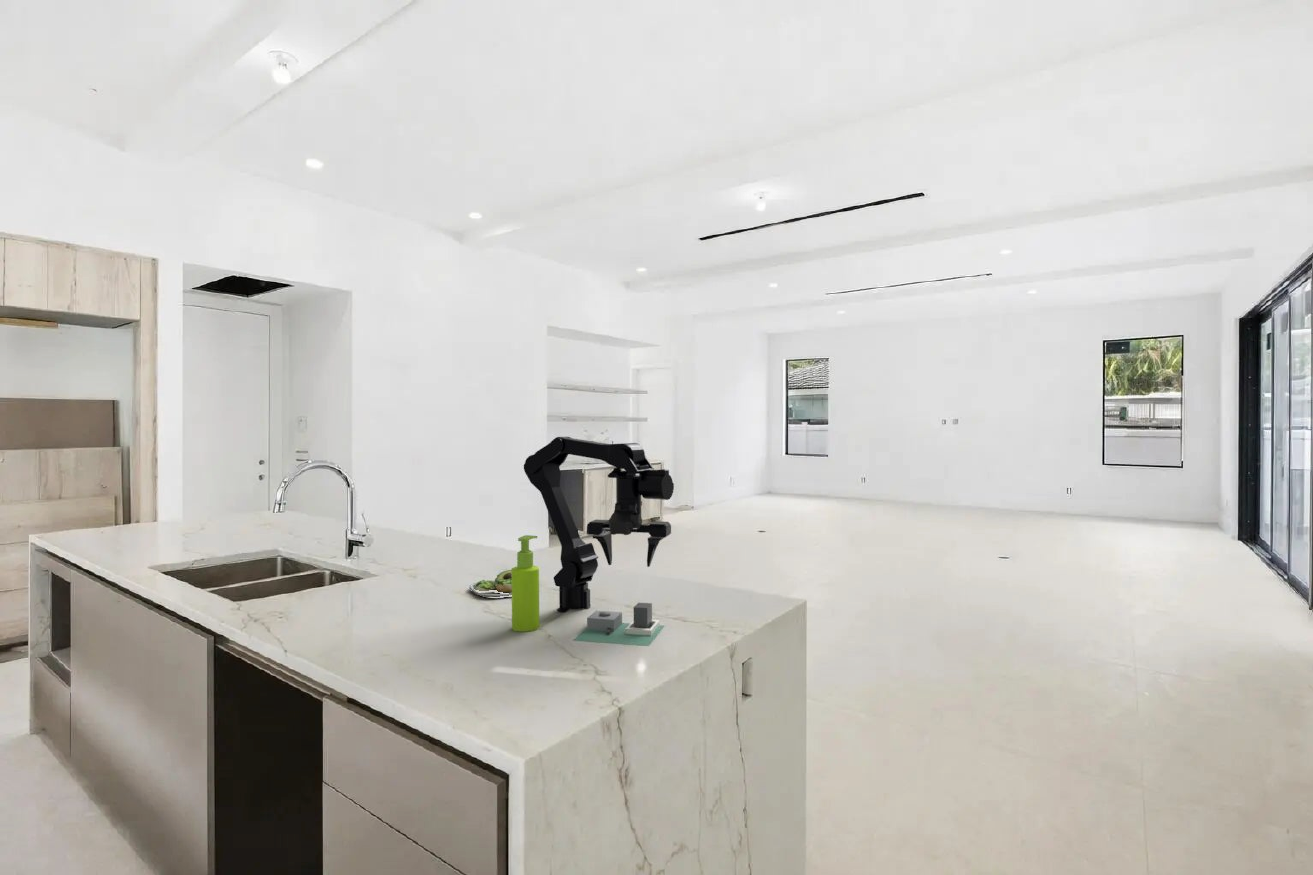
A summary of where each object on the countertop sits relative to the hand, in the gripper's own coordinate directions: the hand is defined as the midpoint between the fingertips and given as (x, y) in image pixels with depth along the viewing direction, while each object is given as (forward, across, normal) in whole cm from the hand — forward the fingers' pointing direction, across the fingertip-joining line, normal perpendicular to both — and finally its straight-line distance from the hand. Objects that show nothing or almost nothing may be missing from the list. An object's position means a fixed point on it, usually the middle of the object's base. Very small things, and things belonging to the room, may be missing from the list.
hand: (629, 565), depth 160 cm
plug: (+11, +6, -10) cm, 16 cm away
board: (+12, +2, -14) cm, 19 cm away
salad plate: (+13, -40, +18) cm, 46 cm away
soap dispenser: (+12, -20, -12) cm, 26 cm away
